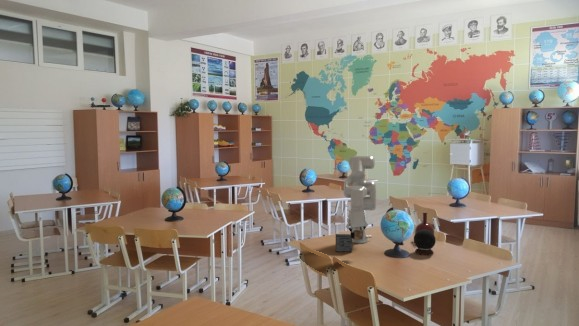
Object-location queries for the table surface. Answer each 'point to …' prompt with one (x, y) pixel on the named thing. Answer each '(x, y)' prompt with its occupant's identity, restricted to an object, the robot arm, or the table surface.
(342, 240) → the small box
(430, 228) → the round-bottom flask
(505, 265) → the table surface
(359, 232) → the walnut cube
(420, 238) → the black round ball
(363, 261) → the table surface
